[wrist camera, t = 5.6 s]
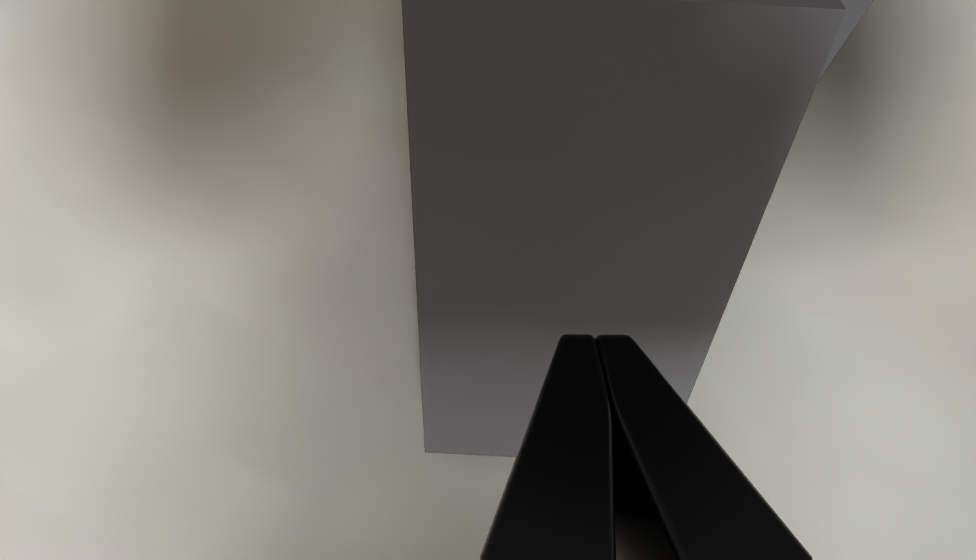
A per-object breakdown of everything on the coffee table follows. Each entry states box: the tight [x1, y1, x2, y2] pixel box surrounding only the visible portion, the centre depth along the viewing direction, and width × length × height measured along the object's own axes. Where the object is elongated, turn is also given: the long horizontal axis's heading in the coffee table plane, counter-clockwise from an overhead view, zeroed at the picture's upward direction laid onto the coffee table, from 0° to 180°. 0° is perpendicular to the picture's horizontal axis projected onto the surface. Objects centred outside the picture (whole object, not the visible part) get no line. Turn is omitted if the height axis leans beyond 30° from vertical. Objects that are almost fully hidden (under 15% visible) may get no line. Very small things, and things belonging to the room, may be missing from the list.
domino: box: [402, 0, 846, 457], centre depth 12 cm, size 2×5×10 cm
